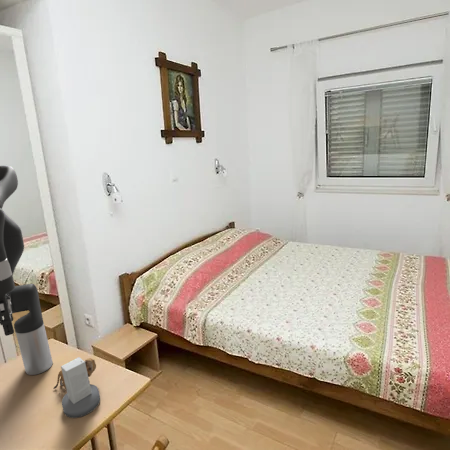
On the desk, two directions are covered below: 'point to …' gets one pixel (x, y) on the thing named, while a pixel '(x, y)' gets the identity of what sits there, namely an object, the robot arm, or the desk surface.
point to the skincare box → (76, 380)
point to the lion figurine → (89, 366)
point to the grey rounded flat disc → (81, 404)
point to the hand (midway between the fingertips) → (9, 327)
